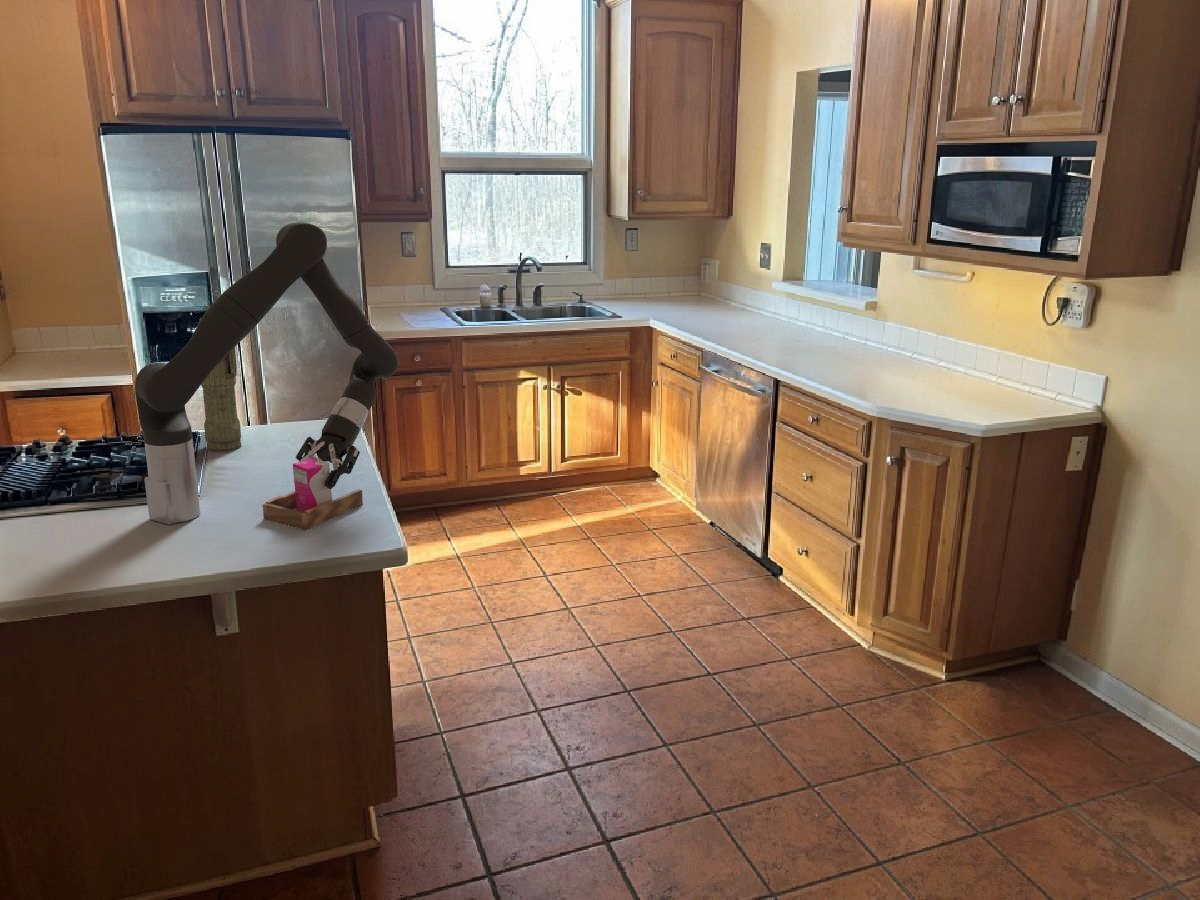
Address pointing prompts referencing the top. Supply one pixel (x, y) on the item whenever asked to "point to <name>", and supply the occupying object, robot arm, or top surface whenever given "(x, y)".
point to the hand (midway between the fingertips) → (312, 483)
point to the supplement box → (311, 484)
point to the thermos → (222, 407)
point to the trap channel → (284, 513)
